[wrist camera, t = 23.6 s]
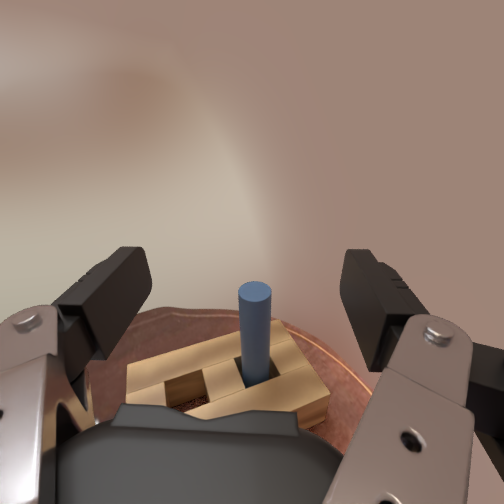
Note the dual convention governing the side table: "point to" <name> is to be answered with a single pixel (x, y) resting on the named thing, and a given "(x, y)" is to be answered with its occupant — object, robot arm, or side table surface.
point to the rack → (231, 380)
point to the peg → (255, 331)
